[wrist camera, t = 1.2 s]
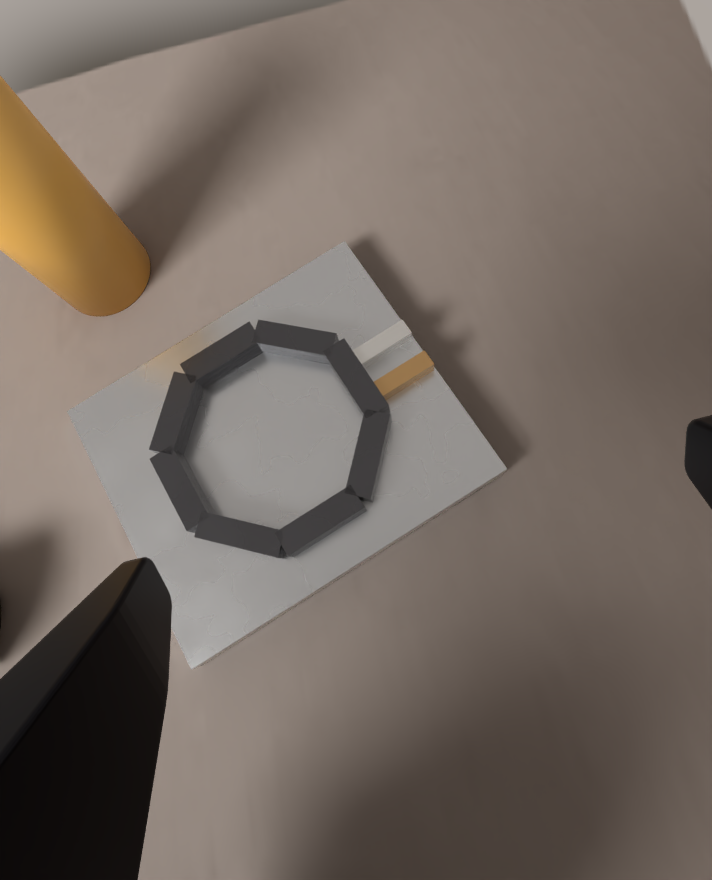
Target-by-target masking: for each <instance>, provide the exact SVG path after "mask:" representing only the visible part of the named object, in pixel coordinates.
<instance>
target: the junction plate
mask: <svg viewBox="0 0 712 880" xmlns="http://www.w3.org/2000/svg"><path fill="white" fill-rule="evenodd" d="M67 412H68V414H69V416H70V418H71V420H72V423H73V425H74V427H75V429H76V431H77V433H78V435H79V437H80V439H81V441H82V443H83V445H84V447H85V450H86V452H87V454H88V456H89V458H90V460H91V462H92V464H93V466H94V468H95V470H96V472H97V474H98V477H99V479H100V481H101V483H102V485H103V487H104V489H105V491H106V493H107V495H108V497H109V499H110V501H111V504H112V506H113V508H114V510H115V512H116V514H117V516H118V518H119V520H120V522H121V524H122V526H123V528H124V531H125V533H126V535H127V537H128V539H129V541H130V543H131V545H132V547H133V549H134V551H135V553H136V555H137V558H142V557H147V558H150V559H151V560H152V561H153V563H154V564H155V566H156V568H157V570H158V572H159V574H160V575H161V577H162V579H163V581H164V583H165V585H166V587H167V589H168V591H169V593H170V596H171V601H172V617H171V628H172V630H173V632H174V634H175V637H176V639H177V641H178V643H179V645H180V647H181V649H182V651H183V653H184V655H185V657H186V659H187V661H188V664H189V666H190V668H191V669H194V668H197V667H199V666H202V665H204V664H206V663H207V662H209V661H210V660H212V659H213V658H215V657H217V656H218V655H220V654H221V653H223V652H224V651H226V650H228V649H229V648H231V647H232V646H234V645H235V644H237V643H239V642H240V641H242V640H243V639H245V638H246V637H248V636H250V635H251V634H253V633H254V632H256V631H257V630H259V629H261V628H262V627H264V626H265V625H267V624H269V623H270V622H272V621H273V620H275V619H276V618H278V617H280V616H281V615H283V614H284V613H286V612H287V611H289V610H291V609H292V608H294V607H295V606H297V605H298V604H300V603H302V602H303V601H305V600H306V599H308V598H309V597H311V596H313V595H314V594H316V593H317V592H319V591H320V590H322V589H324V588H325V587H327V586H328V585H330V584H331V583H333V582H335V581H336V580H338V579H339V578H341V577H342V576H344V575H346V574H347V573H349V572H350V571H352V570H353V569H355V568H357V567H358V566H360V565H361V564H363V563H364V562H366V561H368V560H369V559H371V558H372V557H374V556H376V555H377V554H379V553H380V552H382V551H383V550H385V549H387V548H388V547H390V546H391V545H393V544H394V543H396V542H398V541H399V540H401V539H402V538H404V537H405V536H407V535H409V534H410V533H412V532H413V531H415V530H416V529H418V528H420V527H421V526H423V525H424V524H426V523H427V522H429V521H431V520H432V519H434V518H435V517H437V516H438V515H440V514H442V513H443V512H445V511H446V510H448V509H449V508H451V507H453V506H454V505H456V504H457V503H459V502H460V501H462V500H464V499H465V498H467V497H468V496H470V495H471V494H473V493H475V492H476V491H478V490H479V489H481V488H482V487H484V486H486V485H487V484H489V483H490V482H492V481H494V480H495V479H497V478H498V477H500V476H501V475H503V474H504V472H505V471H506V470H507V468H506V466H505V465H504V463H503V462H502V461H501V459H500V458H499V456H498V455H497V454H496V452H495V451H494V449H493V448H492V447H491V445H490V444H489V442H488V441H487V440H486V438H485V437H484V435H483V434H482V433H481V431H480V430H479V428H478V427H477V426H476V424H475V423H474V421H473V420H472V419H471V417H470V416H469V414H468V413H467V412H466V410H465V409H464V407H463V406H462V405H461V403H460V402H459V400H458V399H457V398H456V396H455V395H454V393H453V392H452V391H451V389H450V388H449V386H448V385H447V384H446V382H445V381H444V379H443V378H442V377H441V375H440V374H439V372H438V371H437V370H436V368H435V367H434V363H433V361H432V360H431V359H430V357H429V356H428V354H427V353H426V352H425V350H424V351H423V350H422V349H421V347H420V346H419V344H418V343H417V342H416V340H415V339H414V337H413V336H412V332H411V331H410V329H409V328H408V326H407V325H406V324H405V322H404V321H403V320H401V319H400V318H399V316H398V315H397V314H396V312H395V311H394V309H393V308H392V307H391V305H390V304H389V302H388V301H387V300H386V298H385V297H384V295H383V294H382V293H381V291H380V290H379V288H378V287H377V286H376V284H375V283H374V281H373V280H372V279H371V277H370V276H369V274H368V273H367V272H366V270H365V269H364V267H363V266H362V265H361V263H360V262H359V260H358V259H357V258H356V256H355V255H354V253H353V252H352V251H351V249H350V248H349V246H348V245H347V244H346V242H345V241H344V242H342V243H340V244H339V245H337V246H336V247H334V248H332V249H331V250H329V251H327V252H326V253H324V254H323V255H321V256H319V257H318V258H316V259H314V260H313V261H311V262H309V263H308V264H306V265H305V266H303V267H301V268H300V269H298V270H296V271H295V272H293V273H292V274H290V275H288V276H287V277H285V278H283V279H282V280H280V281H279V282H277V283H275V284H274V285H272V286H270V287H269V288H267V289H266V290H264V291H262V292H261V293H259V294H257V295H256V296H254V297H252V298H251V299H249V300H248V301H246V302H244V303H243V304H241V305H239V306H238V307H236V308H235V309H233V310H231V311H230V312H228V313H226V314H225V315H223V316H222V317H220V318H218V319H217V320H215V321H213V322H212V323H210V324H209V325H207V326H205V327H204V328H202V329H200V330H199V331H197V332H195V333H194V334H192V335H191V336H189V337H187V338H186V339H184V340H182V341H181V342H179V343H178V344H176V345H174V346H173V347H171V348H169V349H168V350H166V351H165V352H163V353H161V354H160V355H158V356H156V357H155V358H153V359H152V360H150V361H148V362H147V363H145V364H143V365H142V366H140V367H138V368H137V369H135V370H134V371H132V372H130V373H129V374H127V375H125V376H124V377H122V378H121V379H119V380H117V381H116V382H114V383H112V384H111V385H109V386H108V387H106V388H104V389H103V390H101V391H99V392H98V393H96V394H95V395H93V396H91V397H90V398H88V399H86V400H85V401H83V402H81V403H80V404H78V405H77V406H75V407H73V408H72V409H70V410H68V411H67Z"/></svg>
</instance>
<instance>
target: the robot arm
mask: <svg viewBox="0 0 712 880" xmlns="http://www.w3.org/2000/svg"><path fill="white" fill-rule="evenodd" d="M684 463H685V470H686V473H687V475H688V477H689V479H690V480H691V481H692V483H693V484H694V486H695V487H696V488H697V490H698V491H699V492H700V494H701V495H702V497H703V498H704V499H705V501H706V502H707V503H708V505H709V506H710V508H711V509H712V415H710V416H706V417H702V418H698V419H694V420H692V421H691V422H690V423H689V424H688V427H687V432H686V447H685V461H684ZM171 617H172V601H171V596H170V593H169V591H168V589H167V587H166V585H165V583H164V581H163V579H162V577H161V575H160V574H159V572H158V570H157V568H156V566H155V564H154V563H153V561H152V560H151V559H150V558H147V557H142V558H138V559H134V560H130V561H126V562H124V563H122V564H121V565H120V566H119V567H118V568H116V569H115V570H114V571H113V572H112V573H111V574H110V575H109V576H108V577H107V578H106V579H105V580H104V581H103V582H102V583H101V584H100V585H99V586H98V587H97V588H95V589H94V590H93V591H92V592H91V593H90V594H89V595H88V596H87V597H86V598H85V599H84V600H83V601H82V602H81V603H80V604H79V605H78V606H77V607H76V608H74V609H73V610H72V611H71V612H70V613H69V614H68V615H67V616H66V617H65V618H64V619H63V620H62V621H61V622H60V623H59V624H58V625H57V626H56V627H55V628H53V629H52V630H51V631H50V632H49V633H48V634H47V635H46V636H45V637H44V638H43V639H42V640H41V641H40V642H39V643H38V644H37V645H36V646H35V647H33V648H32V649H31V650H30V651H29V652H28V653H27V654H26V655H25V656H24V657H23V658H22V659H21V660H20V661H19V662H18V663H17V664H16V665H15V666H14V667H12V668H11V669H10V670H9V671H8V672H7V673H6V674H5V675H4V676H3V677H2V678H1V679H0V880H138V874H139V868H140V862H141V855H142V849H143V843H144V837H145V831H146V825H147V818H148V812H149V806H150V800H151V794H152V788H153V781H154V775H155V769H156V763H157V757H158V750H159V744H160V738H161V732H162V726H163V720H164V713H165V707H166V700H167V693H168V681H169V661H170V639H171Z"/></svg>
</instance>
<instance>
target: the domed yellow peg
mask: <svg viewBox="0 0 712 880" xmlns="http://www.w3.org/2000/svg"><path fill="white" fill-rule="evenodd" d="M0 250H1V251H2V252H4V253H5V254H6V255H7V256H9V257H10V258H11V259H13V260H14V261H15V262H16V263H18V264H19V265H20V266H22V267H23V268H24V269H25V270H27V271H28V272H29V273H30V274H32V275H33V276H34V277H36V278H37V279H38V280H39V281H41V282H42V283H43V284H45V285H46V286H47V287H48V288H50V289H51V290H52V291H53V292H55V293H56V294H57V295H59V296H60V297H61V298H62V299H64V300H65V301H66V302H68V303H69V304H70V305H71V306H73V307H74V308H75V309H76V310H78V311H80V312H82V313H84V314H87V315H90V316H108V315H112V314H115V313H118V312H120V311H122V310H124V309H126V308H127V307H129V306H130V305H131V304H132V303H134V302H135V301H136V300H137V299H138V298H139V296H140V295H141V294H142V292H143V291H144V289H145V287H146V285H147V283H148V280H149V276H150V259H149V256H148V254H147V251H146V250H145V248H144V247H143V245H142V244H141V243H140V242H139V241H138V239H137V238H136V237H135V236H134V235H133V233H132V232H131V231H130V230H129V229H128V228H127V226H126V225H125V224H124V223H123V222H122V220H121V219H120V218H119V217H118V216H117V214H116V213H115V212H114V211H113V210H112V208H111V207H110V206H109V205H108V204H107V202H106V201H105V200H104V199H103V198H102V196H101V195H100V194H99V193H98V192H97V190H96V189H95V188H94V187H93V186H92V184H91V183H90V182H89V181H88V180H87V179H86V177H85V176H84V175H83V174H82V173H81V171H80V170H79V169H78V168H77V167H76V165H75V164H74V163H73V162H72V161H71V159H70V158H69V157H68V156H67V155H66V153H65V152H64V151H63V150H62V149H61V147H60V146H59V145H58V144H57V143H56V141H55V140H54V139H53V138H52V137H51V136H50V134H49V133H48V132H47V131H46V130H45V128H44V127H43V126H42V125H41V124H40V122H39V121H38V120H37V119H36V118H35V116H34V115H33V114H32V113H31V112H30V110H29V109H28V108H27V107H26V106H25V104H24V103H23V102H22V101H21V100H20V98H19V97H18V96H17V95H16V94H15V92H14V91H13V90H12V89H11V88H10V87H9V85H8V84H7V83H6V82H5V81H4V79H3V78H2V77H1V76H0Z"/></svg>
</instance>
